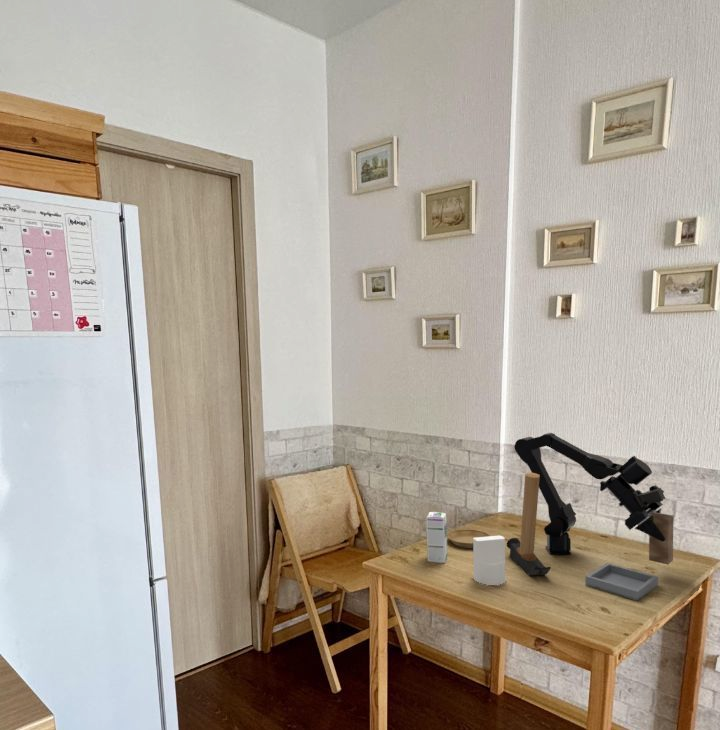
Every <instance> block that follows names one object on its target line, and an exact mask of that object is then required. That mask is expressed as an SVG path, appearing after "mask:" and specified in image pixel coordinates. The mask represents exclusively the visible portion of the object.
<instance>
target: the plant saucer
mask: <svg viewBox="0 0 720 730" xmlns="http://www.w3.org/2000/svg"><path fill="white" fill-rule="evenodd" d="M488 536H491V535H490V534H489V533H487V532H485V531H482V530H477V529H471V528H469V529H467V528H465V529H454V530H452V531H449V532H447V539H448V540H449V541H450V542H451V543H452V544H454V545H455V546H457V547H460V548H463V549H464V548H465V549H466V548H467V549H473V538H476V537H488Z"/></svg>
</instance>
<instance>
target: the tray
mask: <svg viewBox="0 0 720 730" xmlns="http://www.w3.org/2000/svg"><path fill="white" fill-rule="evenodd" d="M584 577H585V578H584V579H585V586H587V587H590V588H593V589H598V590H601V591H604V592H607V593H610V594H613V595H617V596H620V597H623V598H627V599H629V600H633V601H635V602H639V601H640V600H641V599H643V598H644V597H646V596H647V595H648V594H649V593H651V591H653V590H654V589H655V588H657V587H658V586H659V576H657V575H653V574H650V573H646V572H641V571H639V570H636V569H635V570H634V569H632V568H631V569H630V568H627V567H623V566H621V565H617V564H612V563H608V562H606V563H604V564H603V565H602V566H600V567H598V568H597V569H595V570H593V571H592V572H590V573H588V574H587V575H585V576H584Z"/></svg>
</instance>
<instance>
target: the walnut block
mask: <svg viewBox="0 0 720 730" xmlns="http://www.w3.org/2000/svg"><path fill="white" fill-rule="evenodd" d="M652 515H653V522H654V524H655V525H656V527H657V528H658V529H659V531H660V532H661V533H662V535H663V536H664V538H665V541H663V542H662V541H660V540H658V539H656V538H654V537H652V536H650V535H648V536H649V537H648V539H649V540H648V546H649V547H648V561H652V562H655V563H659V564H664V565H670V564H671V563H672V562H673V561H674V515H672V514H667V513H666V514H665V513H662V512H661V513H656V512H654V513H653V514H651V515H650V516H652ZM650 516H649V517H650Z"/></svg>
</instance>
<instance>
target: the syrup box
mask: <svg viewBox="0 0 720 730" xmlns="http://www.w3.org/2000/svg"><path fill="white" fill-rule="evenodd" d="M425 519H426V520H425V521H426V550H427V551H426V552H427V553H426V555H427V557H426V558H427V562H430V563H438V564H445V563H446V562H447V558H448V537H447V535H448V531H447V525H448V524H447V513H446V512H441V511H429V512H428V514H427V515H426V518H425Z"/></svg>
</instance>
